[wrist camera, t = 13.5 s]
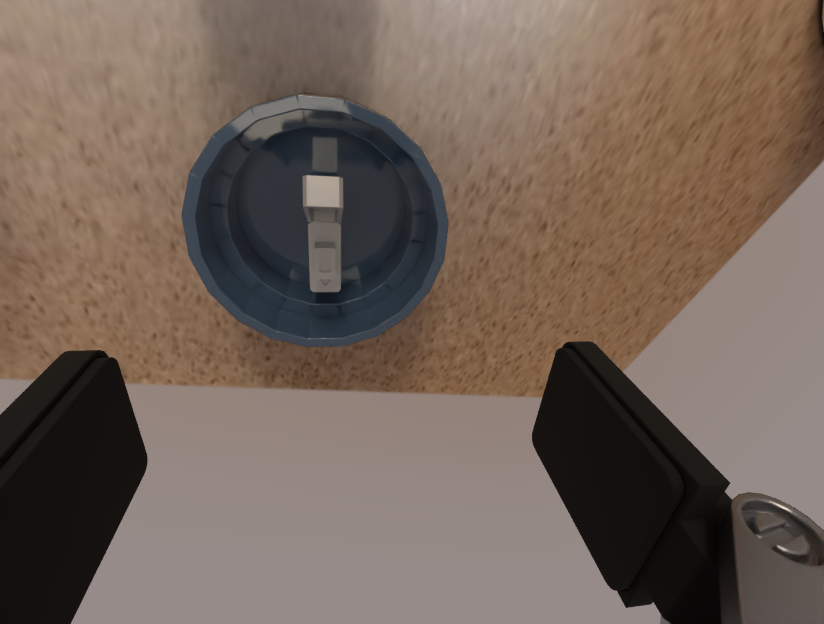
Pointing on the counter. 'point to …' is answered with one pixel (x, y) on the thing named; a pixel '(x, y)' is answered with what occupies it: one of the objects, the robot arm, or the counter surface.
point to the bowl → (288, 227)
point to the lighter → (324, 230)
